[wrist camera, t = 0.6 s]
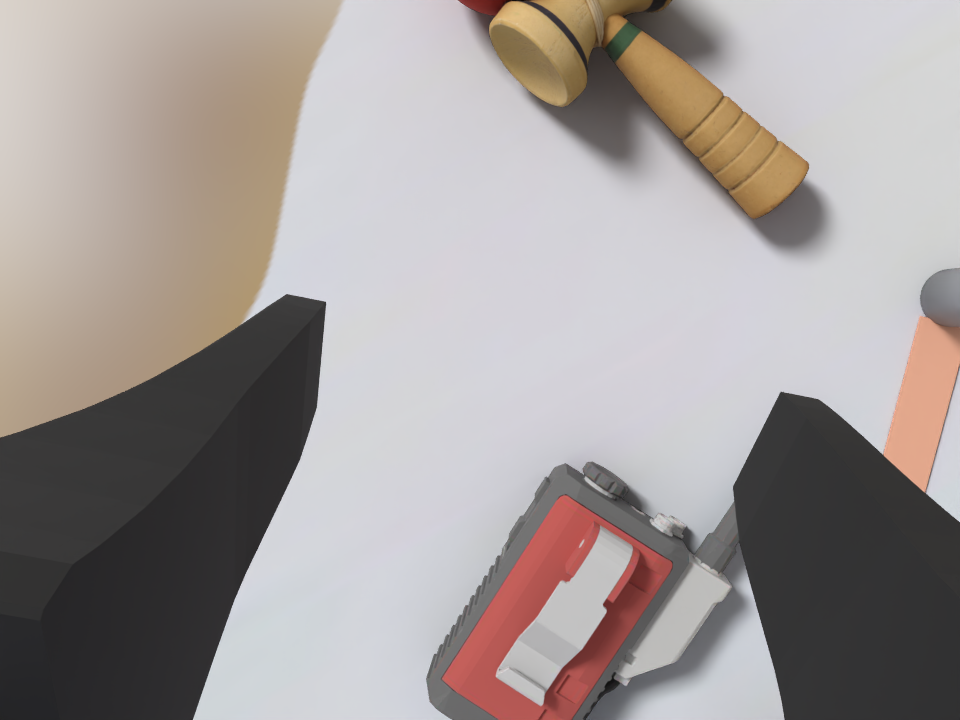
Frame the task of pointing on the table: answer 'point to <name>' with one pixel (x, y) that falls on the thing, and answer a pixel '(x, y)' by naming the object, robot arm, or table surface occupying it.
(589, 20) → the kendama
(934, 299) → the finish line
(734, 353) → the table surface
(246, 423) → the robot arm
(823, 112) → the table surface
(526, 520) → the walkie-talkie
